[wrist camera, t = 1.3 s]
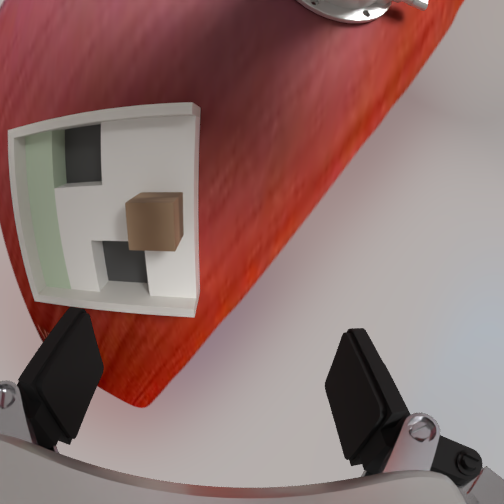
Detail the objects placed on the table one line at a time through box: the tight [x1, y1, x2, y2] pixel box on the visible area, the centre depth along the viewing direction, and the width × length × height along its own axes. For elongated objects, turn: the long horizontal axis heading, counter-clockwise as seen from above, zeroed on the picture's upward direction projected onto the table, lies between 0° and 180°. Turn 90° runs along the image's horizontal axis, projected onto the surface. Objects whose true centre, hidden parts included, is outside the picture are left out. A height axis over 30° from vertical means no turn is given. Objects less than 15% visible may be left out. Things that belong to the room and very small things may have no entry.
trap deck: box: [8, 102, 201, 317], centre depth 26 cm, size 20×20×5 cm
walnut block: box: [125, 192, 184, 252], centre depth 24 cm, size 4×4×4 cm
